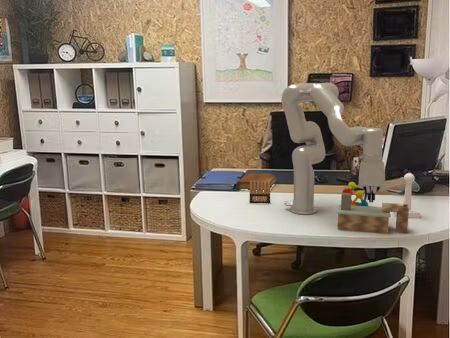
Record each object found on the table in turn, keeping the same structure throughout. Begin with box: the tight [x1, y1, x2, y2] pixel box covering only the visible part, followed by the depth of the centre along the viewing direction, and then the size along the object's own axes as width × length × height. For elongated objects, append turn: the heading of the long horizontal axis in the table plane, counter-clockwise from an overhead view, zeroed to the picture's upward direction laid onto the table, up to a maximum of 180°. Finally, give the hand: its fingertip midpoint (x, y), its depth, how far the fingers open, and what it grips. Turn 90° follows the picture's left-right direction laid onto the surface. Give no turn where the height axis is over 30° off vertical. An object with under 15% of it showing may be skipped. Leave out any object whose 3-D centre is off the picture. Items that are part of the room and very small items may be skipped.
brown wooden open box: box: [337, 203, 409, 234], centre depth 189 cm, size 28×10×11 cm, turn 73°
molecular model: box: [341, 181, 372, 207], centre depth 218 cm, size 15×12×15 cm
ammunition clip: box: [249, 181, 271, 204], centre depth 229 cm, size 11×2×12 cm, turn 84°
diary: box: [236, 172, 278, 190], centre depth 265 cm, size 23×19×6 cm
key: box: [381, 202, 403, 213], centre depth 186 cm, size 8×2×3 cm, turn 73°
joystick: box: [392, 172, 421, 219], centre depth 205 cm, size 11×8×20 cm
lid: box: [336, 192, 391, 218], centre depth 189 cm, size 21×11×7 cm, turn 73°
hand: (371, 201), depth 188 cm, fingers closed
